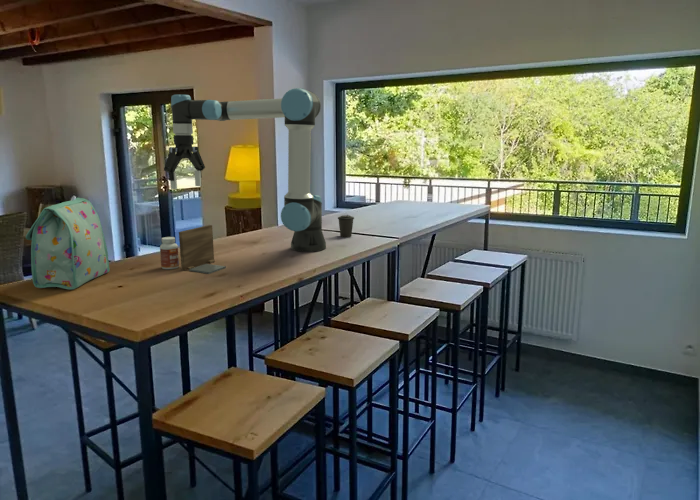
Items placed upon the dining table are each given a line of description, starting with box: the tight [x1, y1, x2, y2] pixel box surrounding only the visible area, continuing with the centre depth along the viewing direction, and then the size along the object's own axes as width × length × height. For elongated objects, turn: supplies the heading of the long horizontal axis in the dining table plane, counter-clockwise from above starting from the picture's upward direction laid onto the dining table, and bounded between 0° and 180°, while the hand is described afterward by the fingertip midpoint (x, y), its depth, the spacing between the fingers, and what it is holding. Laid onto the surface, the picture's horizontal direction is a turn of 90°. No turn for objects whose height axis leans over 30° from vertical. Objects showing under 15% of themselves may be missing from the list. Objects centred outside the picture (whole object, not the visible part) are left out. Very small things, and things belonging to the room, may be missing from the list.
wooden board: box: [178, 224, 216, 271], centre depth 188 cm, size 4×16×14 cm, turn 155°
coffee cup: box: [337, 214, 355, 238], centre depth 244 cm, size 8×8×10 cm
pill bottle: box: [159, 236, 180, 270], centre depth 185 cm, size 6×6×11 cm
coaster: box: [188, 263, 226, 275], centre depth 184 cm, size 9×9×1 cm
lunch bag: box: [25, 197, 111, 290], centre depth 166 cm, size 23×16×27 cm
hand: (186, 187), depth 209 cm, fingers open, 13 cm apart
